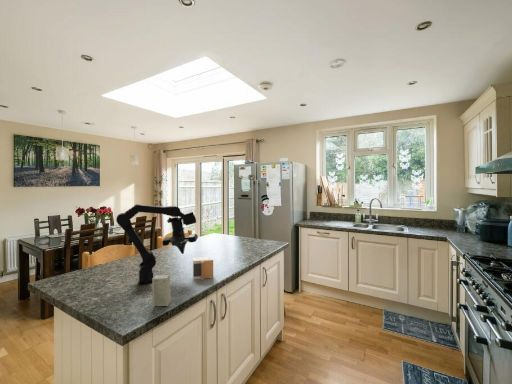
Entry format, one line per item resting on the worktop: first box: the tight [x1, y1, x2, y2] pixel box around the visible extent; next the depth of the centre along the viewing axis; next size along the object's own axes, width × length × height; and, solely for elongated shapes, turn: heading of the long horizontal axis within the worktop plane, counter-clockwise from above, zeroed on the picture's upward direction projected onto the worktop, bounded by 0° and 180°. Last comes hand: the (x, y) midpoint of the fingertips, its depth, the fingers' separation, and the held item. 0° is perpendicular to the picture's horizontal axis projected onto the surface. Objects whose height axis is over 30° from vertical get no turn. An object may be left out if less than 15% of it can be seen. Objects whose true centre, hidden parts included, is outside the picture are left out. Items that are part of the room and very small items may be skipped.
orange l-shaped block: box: [200, 259, 214, 281], centre depth 133 cm, size 6×4×10 cm, turn 106°
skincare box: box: [151, 274, 171, 308], centre depth 104 cm, size 6×4×12 cm
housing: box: [192, 256, 211, 280], centre depth 137 cm, size 10×6×10 cm, turn 106°
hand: (182, 253), depth 140 cm, fingers closed
